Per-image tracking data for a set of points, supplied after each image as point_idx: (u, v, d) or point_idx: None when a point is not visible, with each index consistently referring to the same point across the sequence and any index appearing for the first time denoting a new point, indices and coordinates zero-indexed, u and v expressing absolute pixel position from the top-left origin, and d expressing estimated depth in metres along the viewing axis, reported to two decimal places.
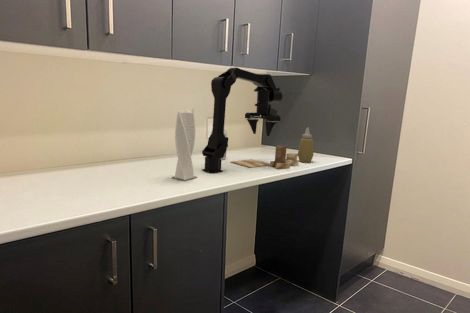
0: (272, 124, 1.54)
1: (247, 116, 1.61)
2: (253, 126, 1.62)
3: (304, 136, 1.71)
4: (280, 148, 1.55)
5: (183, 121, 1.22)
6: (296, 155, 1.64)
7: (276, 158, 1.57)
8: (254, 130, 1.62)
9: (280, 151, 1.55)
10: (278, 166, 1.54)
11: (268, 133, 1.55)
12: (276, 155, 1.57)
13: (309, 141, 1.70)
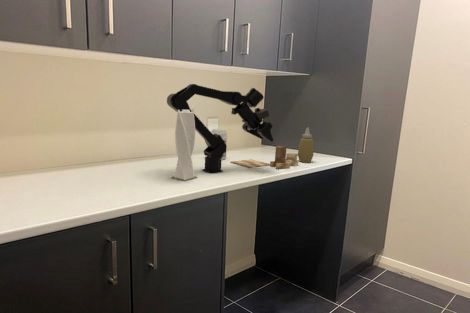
0: (268, 131, 1.45)
1: (245, 129, 1.55)
2: (256, 134, 1.55)
3: (304, 136, 1.71)
4: (280, 148, 1.55)
5: (183, 121, 1.22)
6: (296, 155, 1.64)
7: (276, 158, 1.57)
8: (259, 136, 1.56)
9: (280, 151, 1.55)
10: (278, 166, 1.54)
11: (270, 139, 1.47)
12: (276, 155, 1.57)
13: (309, 141, 1.70)
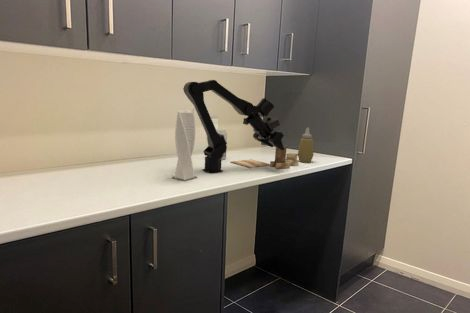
0: (279, 140, 1.48)
1: (256, 138, 1.58)
2: (267, 142, 1.58)
3: (304, 136, 1.71)
4: None
5: (183, 121, 1.22)
6: (296, 155, 1.64)
7: (276, 158, 1.57)
8: (270, 144, 1.59)
9: (280, 151, 1.55)
10: (278, 166, 1.54)
11: (281, 148, 1.51)
12: (276, 155, 1.57)
13: (309, 141, 1.70)
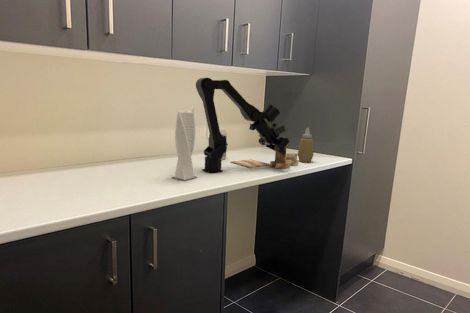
0: None
1: (261, 143, 1.60)
2: (275, 149, 1.58)
3: (304, 136, 1.71)
4: None
5: (183, 121, 1.22)
6: (296, 155, 1.64)
7: (276, 158, 1.57)
8: None
9: None
10: (278, 166, 1.54)
11: (283, 153, 1.55)
12: (276, 155, 1.57)
13: (309, 141, 1.70)
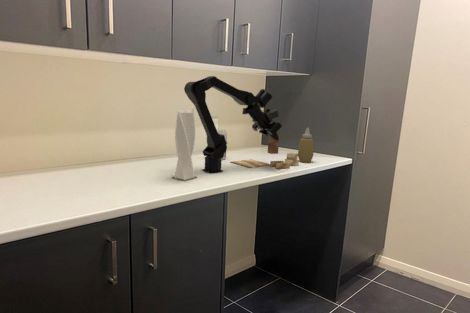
0: None
1: (254, 129, 1.60)
2: (268, 134, 1.57)
3: (304, 136, 1.71)
4: None
5: (183, 121, 1.22)
6: (296, 155, 1.64)
7: (269, 144, 1.57)
8: None
9: None
10: (278, 166, 1.54)
11: (276, 138, 1.55)
12: (269, 141, 1.57)
13: (309, 141, 1.70)
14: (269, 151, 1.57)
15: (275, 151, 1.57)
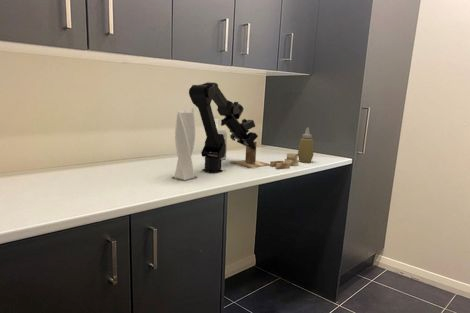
0: None
1: (232, 139, 1.65)
2: (246, 144, 1.63)
3: (304, 136, 1.71)
4: None
5: (183, 121, 1.22)
6: (296, 155, 1.64)
7: (246, 153, 1.62)
8: None
9: None
10: (278, 166, 1.54)
11: (253, 148, 1.60)
12: (247, 150, 1.62)
13: (309, 141, 1.70)
14: (247, 160, 1.62)
15: (253, 160, 1.62)
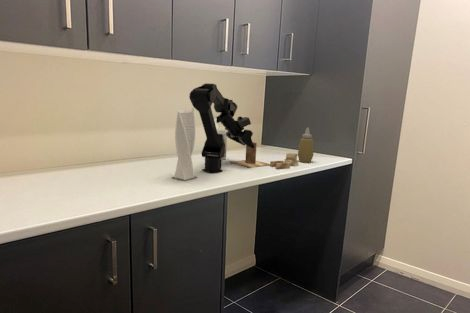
0: (249, 138, 1.53)
1: (228, 137, 1.63)
2: (239, 141, 1.64)
3: (304, 136, 1.71)
4: None
5: (183, 121, 1.22)
6: (296, 155, 1.64)
7: (246, 154, 1.62)
8: (242, 143, 1.64)
9: (250, 147, 1.60)
10: (278, 166, 1.54)
11: (251, 146, 1.56)
12: (247, 151, 1.62)
13: (309, 141, 1.70)
14: (247, 161, 1.62)
15: (253, 161, 1.62)
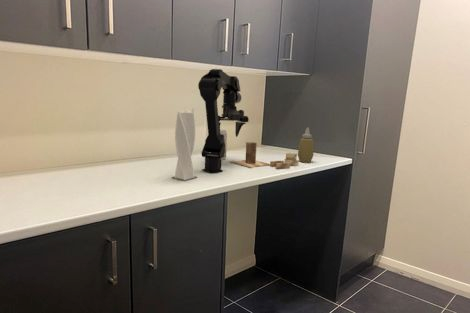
0: None
1: None
2: (236, 129, 1.61)
3: (304, 136, 1.71)
4: (250, 144, 1.60)
5: (183, 121, 1.22)
6: (295, 155, 1.64)
7: (246, 154, 1.62)
8: (236, 133, 1.61)
9: (250, 147, 1.60)
10: (278, 166, 1.54)
11: None
12: (247, 151, 1.62)
13: (309, 141, 1.70)
14: (247, 161, 1.62)
15: (253, 161, 1.62)
